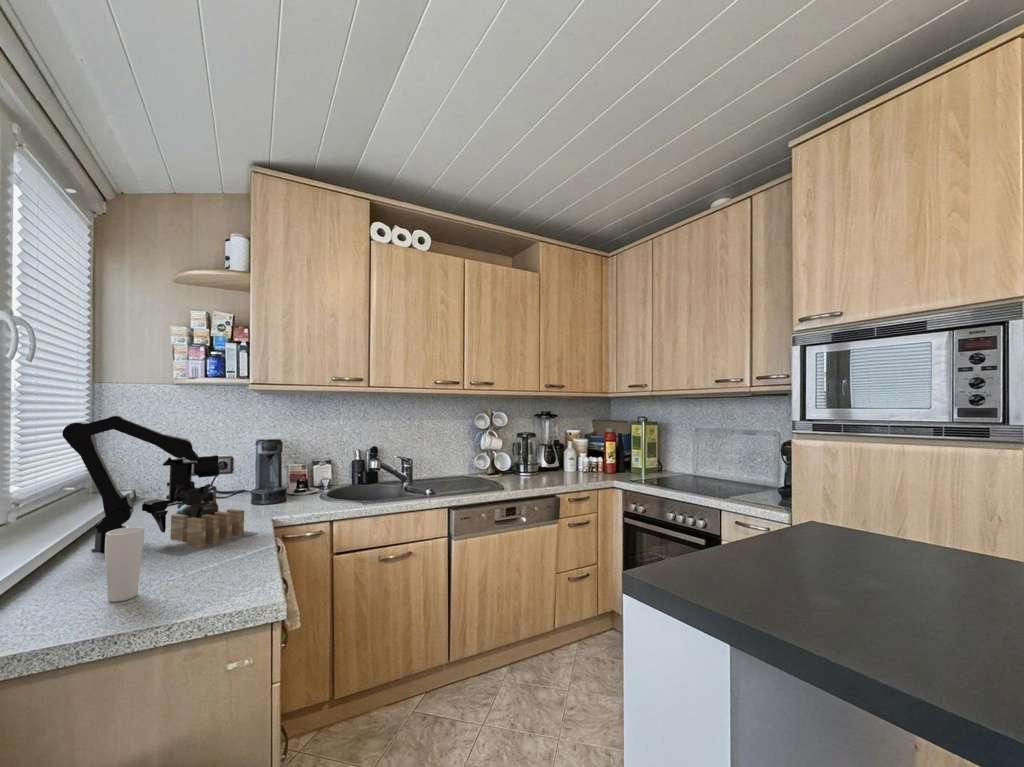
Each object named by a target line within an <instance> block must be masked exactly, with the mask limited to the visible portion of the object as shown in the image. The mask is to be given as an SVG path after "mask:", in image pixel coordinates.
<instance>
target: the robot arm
mask: <svg viewBox="0 0 1024 767" xmlns="http://www.w3.org/2000/svg"><path fill="white" fill-rule="evenodd" d="M112 430H115V431H118V432H120V433H121V434H122V433H123V434H125V435H128V436H130V437H132V438H136V439H138V440H141V441H143V442H146V443H149V444H152V445H155V446H156V447H158V448H160V449H161V450H163V451H164V452H166V453H167V454H169V455H170V456H169V457H168V458H167V459H166V460H165V461H164V462H163V463H162V467H163V466H164V467H166V466H167V467H168V466H169V482H166V486H167V487H169V488H168V494H167V495H166V499H158V498H156V499H150V500H145V501H144V502H143V503H142V506H141V511H143V512H146V513H147V514H150V515H151V516H152V518H153V519H154V521H155V522H156V524H157V526H158V528H159V530H160V532H161V533H166V528H167V526H166V525H167V523H166V522H167V521H166V520H167V514H168V512H169V510H167V508H168V507H172V506H177V504H183V503H185V505H191V518H192V517H195V518H200V517H199V516H200V513H201V511H202V510H203V508H204V507H205V506H206V505H207V504H210V502H209V501H214V494H213V493H212V492H209V488H208V487H207V486H205V485H202V486H203V487H200V488H195V487H196V486H195V485H196V483H195V481H193V480H192V477H193V476H192V475H193V474H194V475H196V476H197V477H198V478H208V477H209V478H211V477H219V476H220V465H219V455H210V456H206V455H205V456H200V455H198V453H196V451H195V450H194V449H193V444H192V442H191V441H190V440H189V439H186V438H184V437H179V436H174V435H170V434H169V435H168V434H163V433H161V432H160V431H159V432H158V431H156V430H154V429H152V428H148V427H146V426H144V425H141V424H139V423H136V422H133V421H131V420H129V419H126V418H123V417H122V416H119V415H112V416H109V417H107V418H103V419H99V420H95V421H91V422H85V421H76V422H72V423H70V424H67V425H66V426H65V427H64V429H63V430H62V432H61V434H62V437H63V439H64V440H65V442H67V443H68V445H69V446H70V447H71V448H72V449H73V450H74V451H75V452H76V453H77V454H78V455H79V456H80V458H81V460H82V462H83V463H84V465H85V468H86V470H87V472H88V474H89V476H90V477H91V480H92V481H93V483H94V485H95V487H96V489H97V491H98V493H99V494H100V497H101V500H102V506H103V511H104V512H103V513H104V516H103V518H102V519H100V520H99V522H98V523H97V524H96V525H95V529H96V530H95V531H94V532H95V534H94V548H91V550H90V551H91V552H94V553H100V554H105V537H106V533H107V532H109V531H111V530H115V529H119V528H126V527H127V526H125V525H123V524H125V523H127V522H128V521H129V520H130V519H131V517H132V515H133V514H134V506H135V505H136V504H135V503H134V501H132V499H131V496H130V493H129V492H128V493H125V494H123V493H122V492H121V491H120V490H119V488H118V487H117V485H116V483H115V481H114V479H113V477H112V475H111V473H110V471H109V469H108V467H107V465H106V463H105V461H104V459H103V457H102V455H101V454H100V451H99V449H98V445H97V439H96V435H98V434H100V433H105V432H108V431H112ZM171 456H172V457H174V458H175V459H173V458H171ZM184 459H186V460H188V461H184ZM193 465H194V468H193ZM192 468H193V469H194V470H193V469H192ZM192 470H193V471H192ZM192 473H193V474H192Z"/></svg>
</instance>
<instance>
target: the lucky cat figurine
mask: <svg viewBox="0 0 1024 767" xmlns="http://www.w3.org/2000/svg"><path fill="white" fill-rule="evenodd" d="M203 486H207V487H208V488H209V492H212V493H213V494H214V501H209V502H210V504H207V505H206V506H205V507H204V508H203V510H202V511H201V513H200V516H199V518H201V516H202V515H205V514H208V515H215V512H219V511H220V510H219V505H218V502H217V493H218V491H217V490H218V489H217V486H216V485H211V483H207V484H204V485H198V486H197V485H196V486H195V488H200V487H203ZM176 506H177V510H176V512H174V514H181V515H187V516H189V517H188V518H191V505H185V503H183V504H177V505H176Z"/></svg>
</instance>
